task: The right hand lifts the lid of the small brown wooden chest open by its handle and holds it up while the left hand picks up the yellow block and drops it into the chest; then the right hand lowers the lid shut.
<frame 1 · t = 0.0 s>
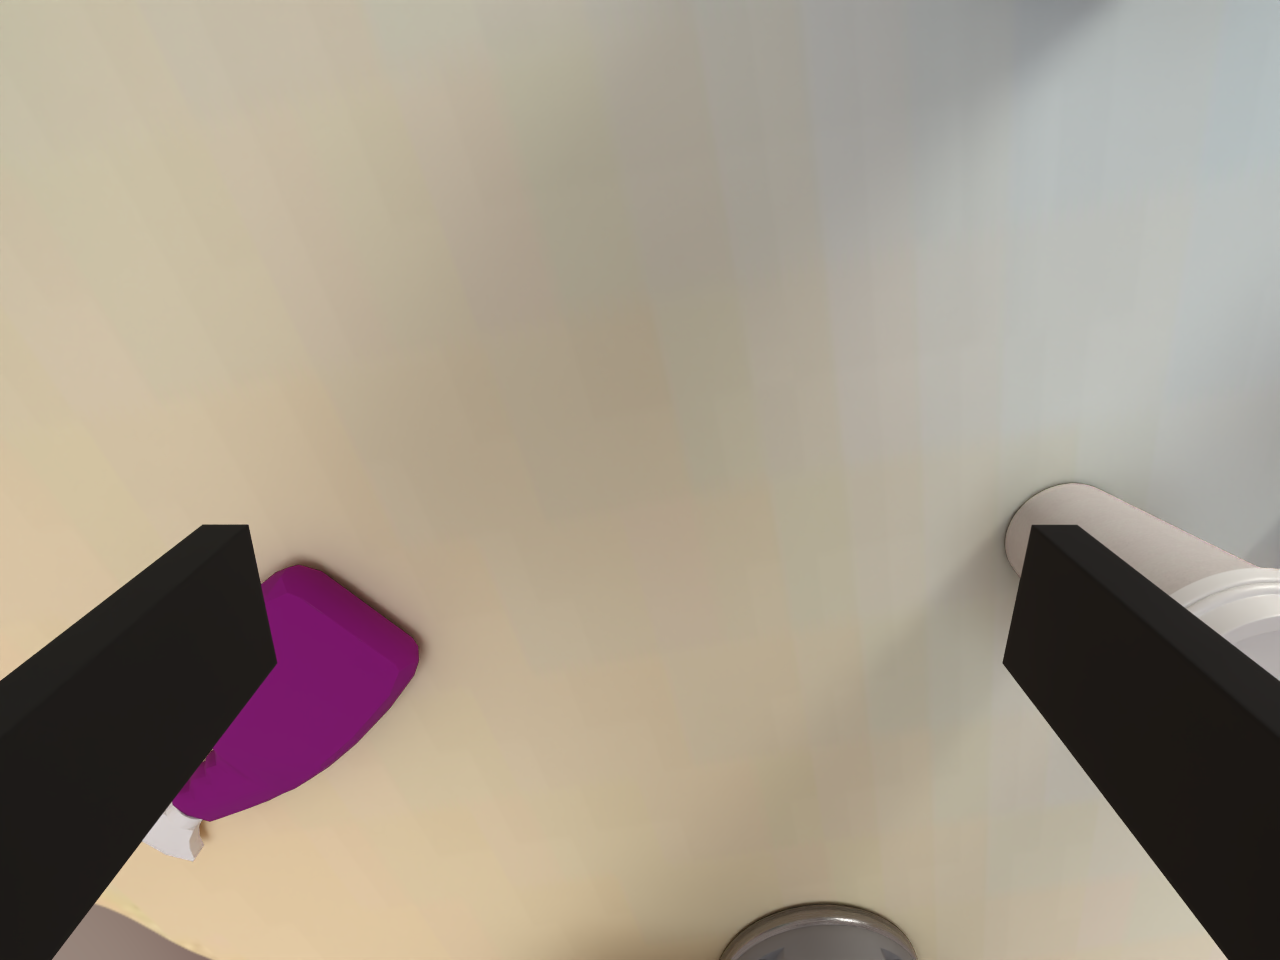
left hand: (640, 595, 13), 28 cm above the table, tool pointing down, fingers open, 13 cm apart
coffee cup: (1059, 533, 43), on the table
spray bottle: (256, 716, 48), on the table
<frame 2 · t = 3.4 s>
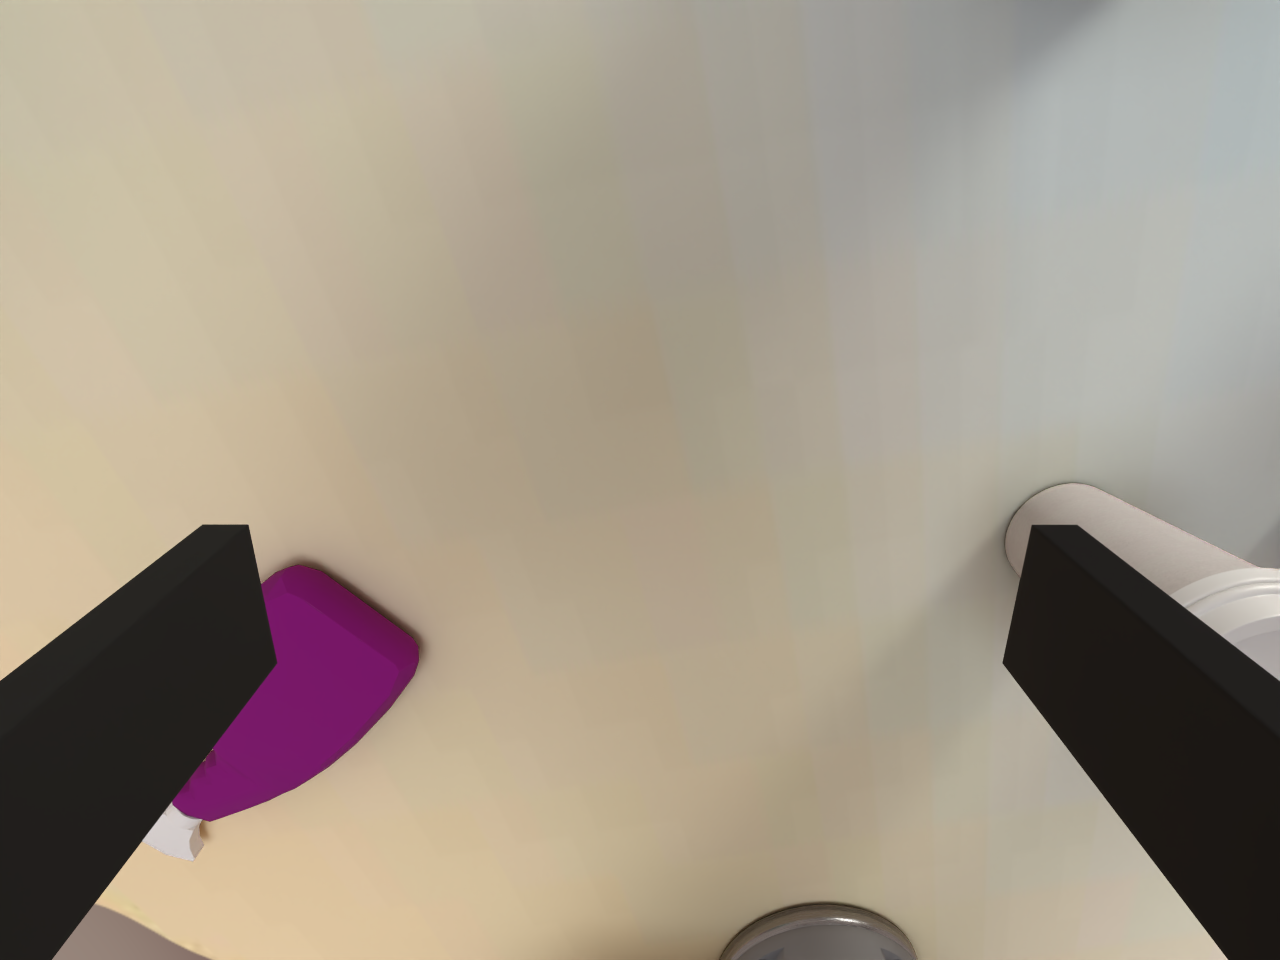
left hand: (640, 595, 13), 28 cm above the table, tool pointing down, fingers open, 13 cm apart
coffee cup: (1059, 533, 43), on the table
spray bottle: (256, 716, 48), on the table
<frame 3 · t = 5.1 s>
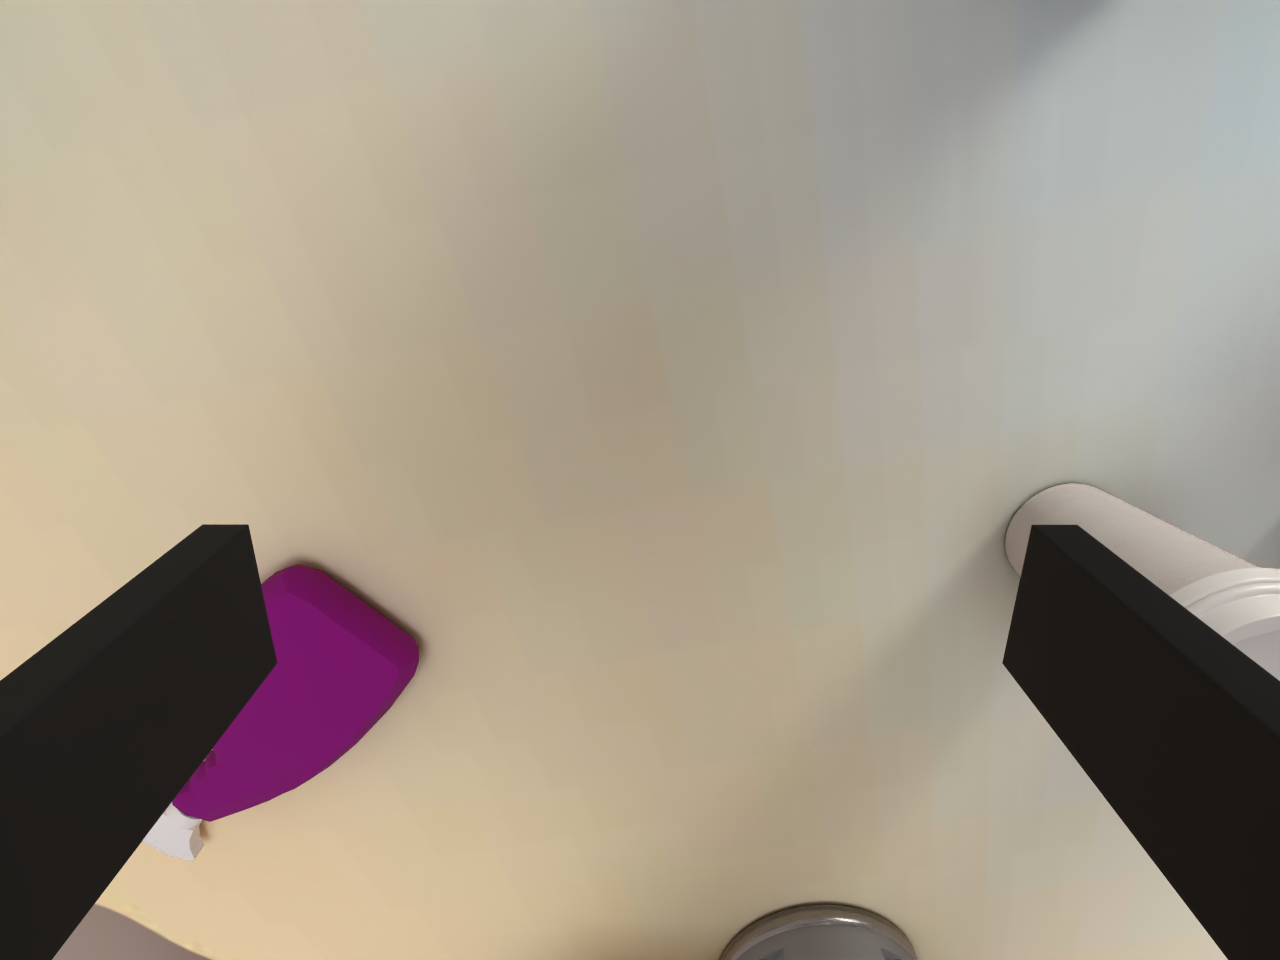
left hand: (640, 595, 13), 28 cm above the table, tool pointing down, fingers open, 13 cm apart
coffee cup: (1059, 533, 43), on the table
spray bottle: (256, 716, 48), on the table
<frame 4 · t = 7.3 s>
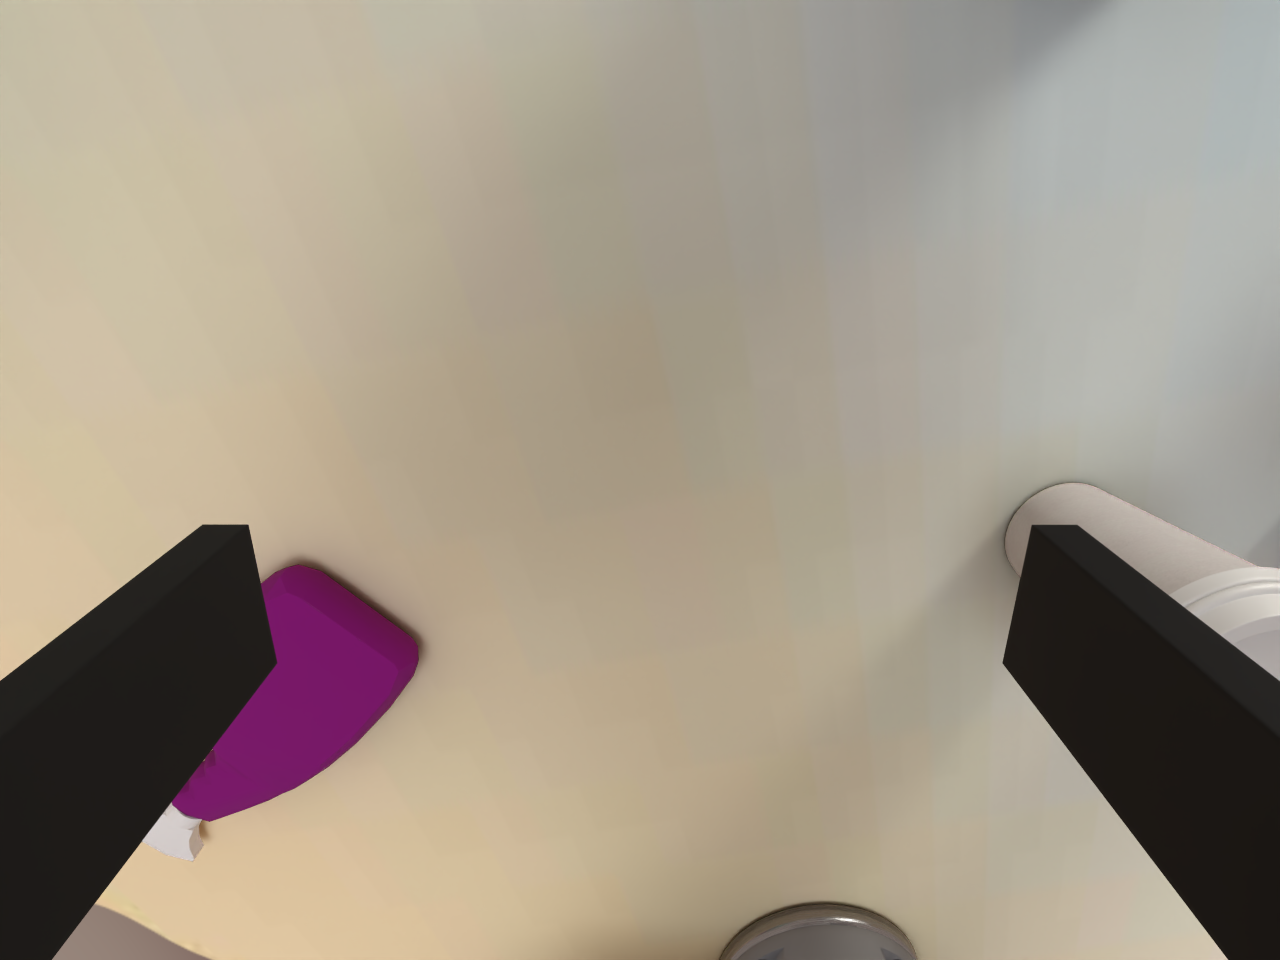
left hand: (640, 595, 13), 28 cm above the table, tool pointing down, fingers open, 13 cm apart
coffee cup: (1059, 533, 43), on the table
spray bottle: (255, 716, 48), on the table
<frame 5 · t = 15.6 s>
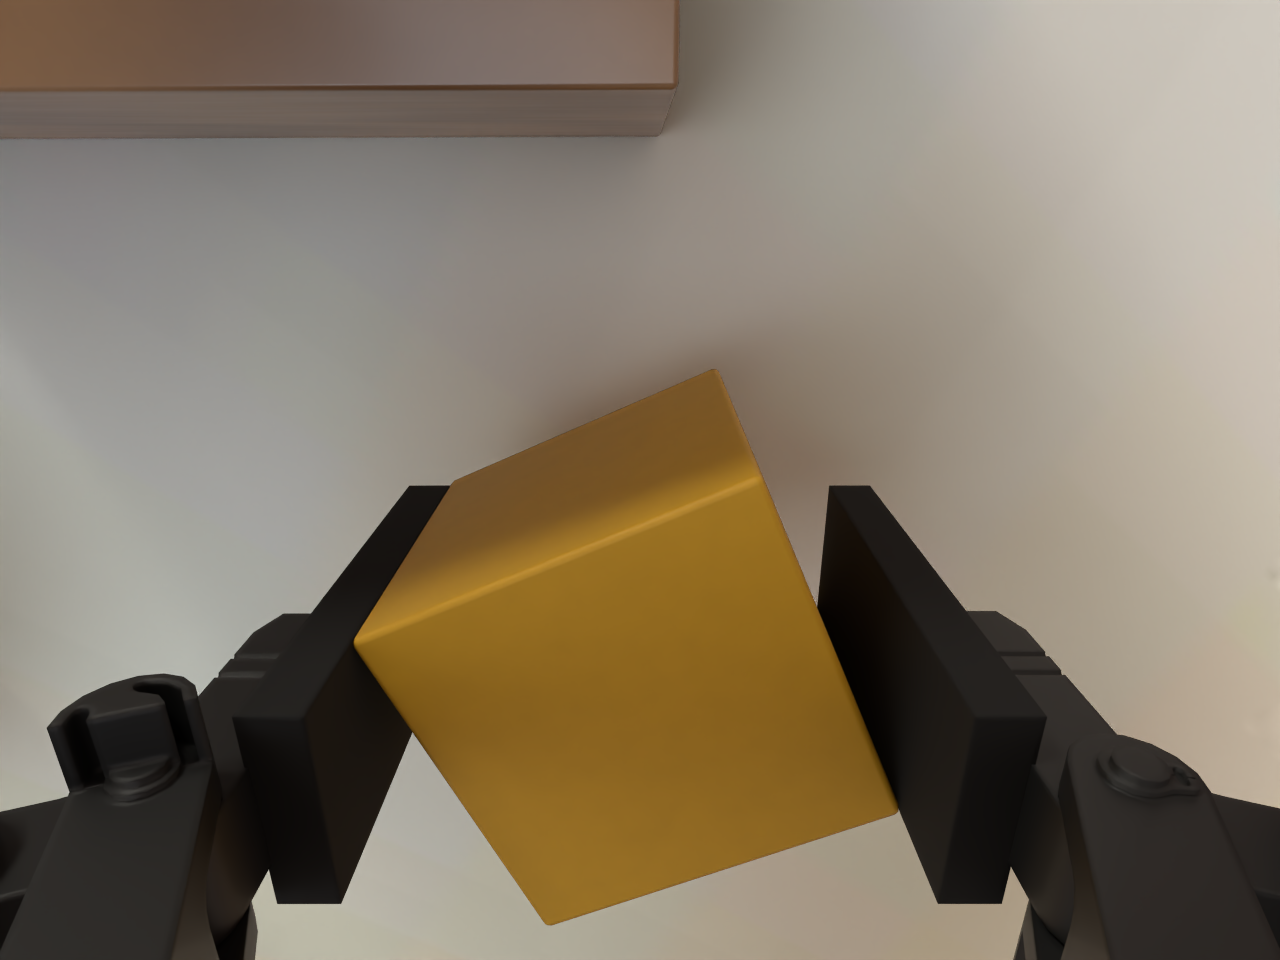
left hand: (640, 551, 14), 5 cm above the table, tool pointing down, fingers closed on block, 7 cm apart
block: (639, 545, 15), point 5 cm above the table, touching left hand
when the left hand's fingers open (19 cm above the table, at t = 18.4 s): block drops 17 cm, point 1 cm above the table.
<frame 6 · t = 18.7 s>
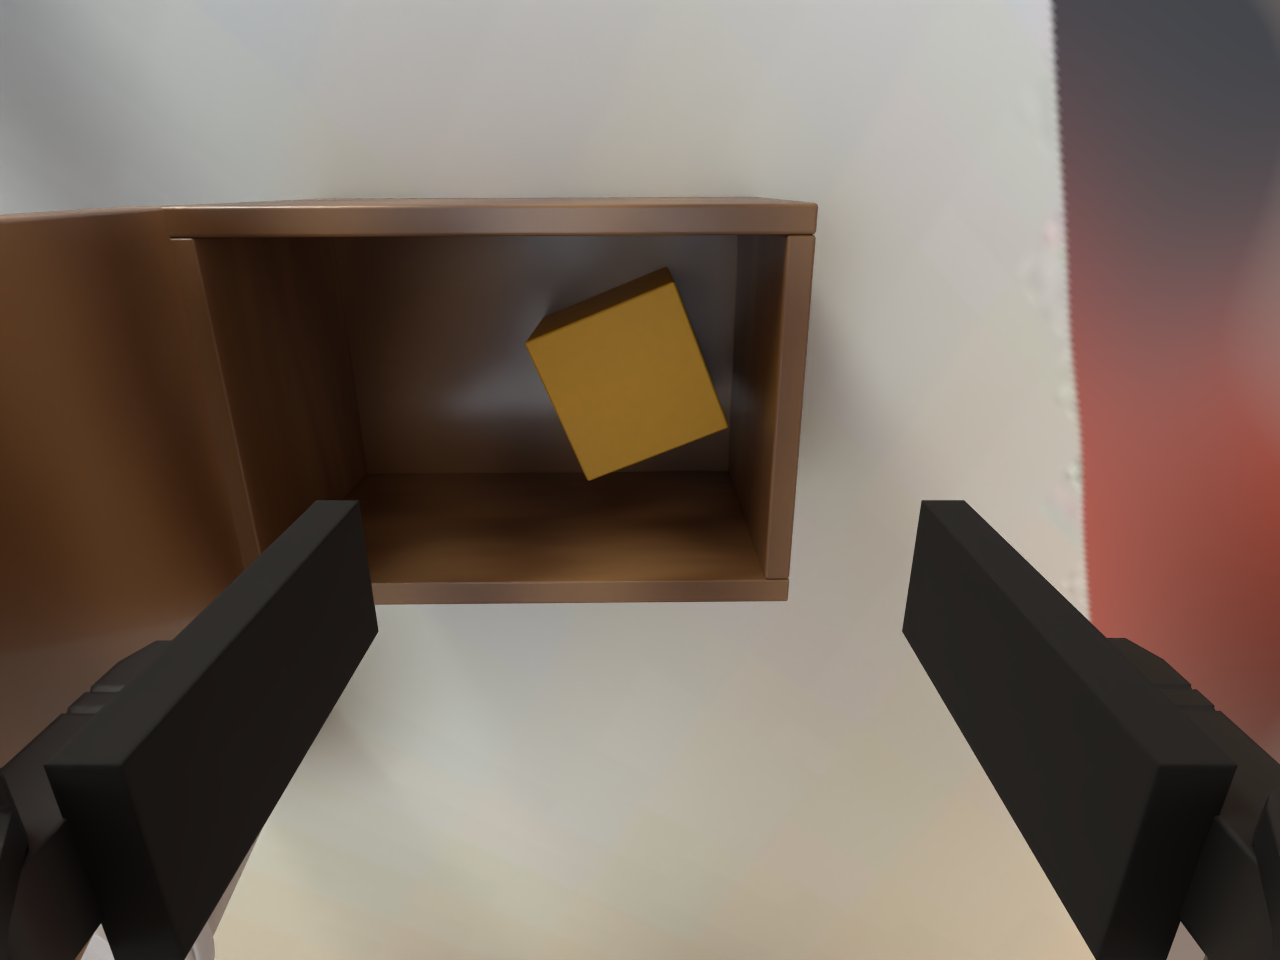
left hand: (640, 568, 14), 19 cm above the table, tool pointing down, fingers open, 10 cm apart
coffee cup: (253, 690, 38), on the table
block: (629, 354, 31), point 1 cm above the table
chest: (544, 350, 31), on the table
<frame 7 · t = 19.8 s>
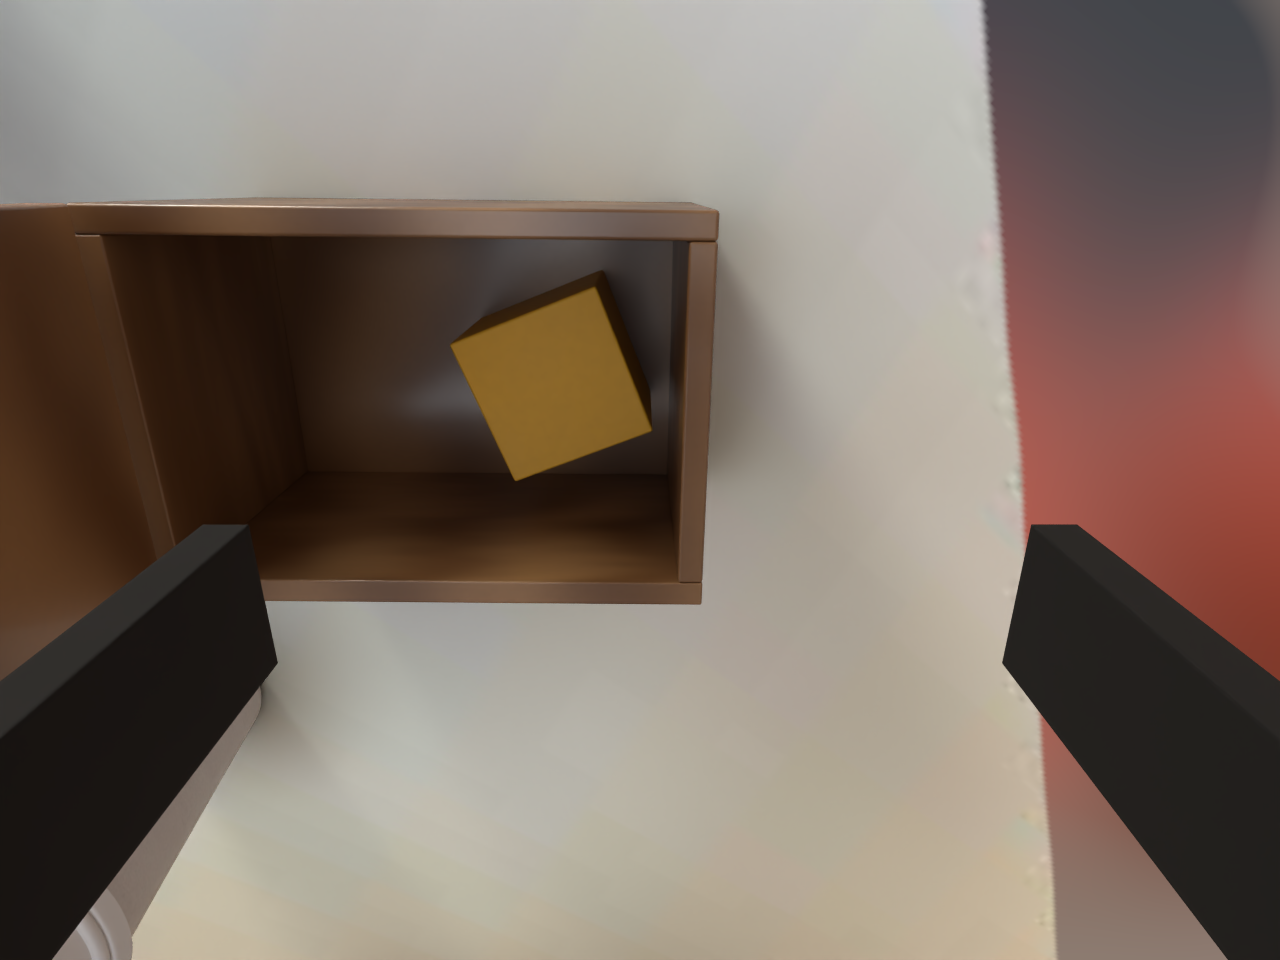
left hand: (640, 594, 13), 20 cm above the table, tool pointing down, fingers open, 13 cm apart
coffee cup: (198, 686, 38), on the table
block: (567, 356, 31), point 1 cm above the table, touching chest
chest: (483, 351, 32), on the table, touching block
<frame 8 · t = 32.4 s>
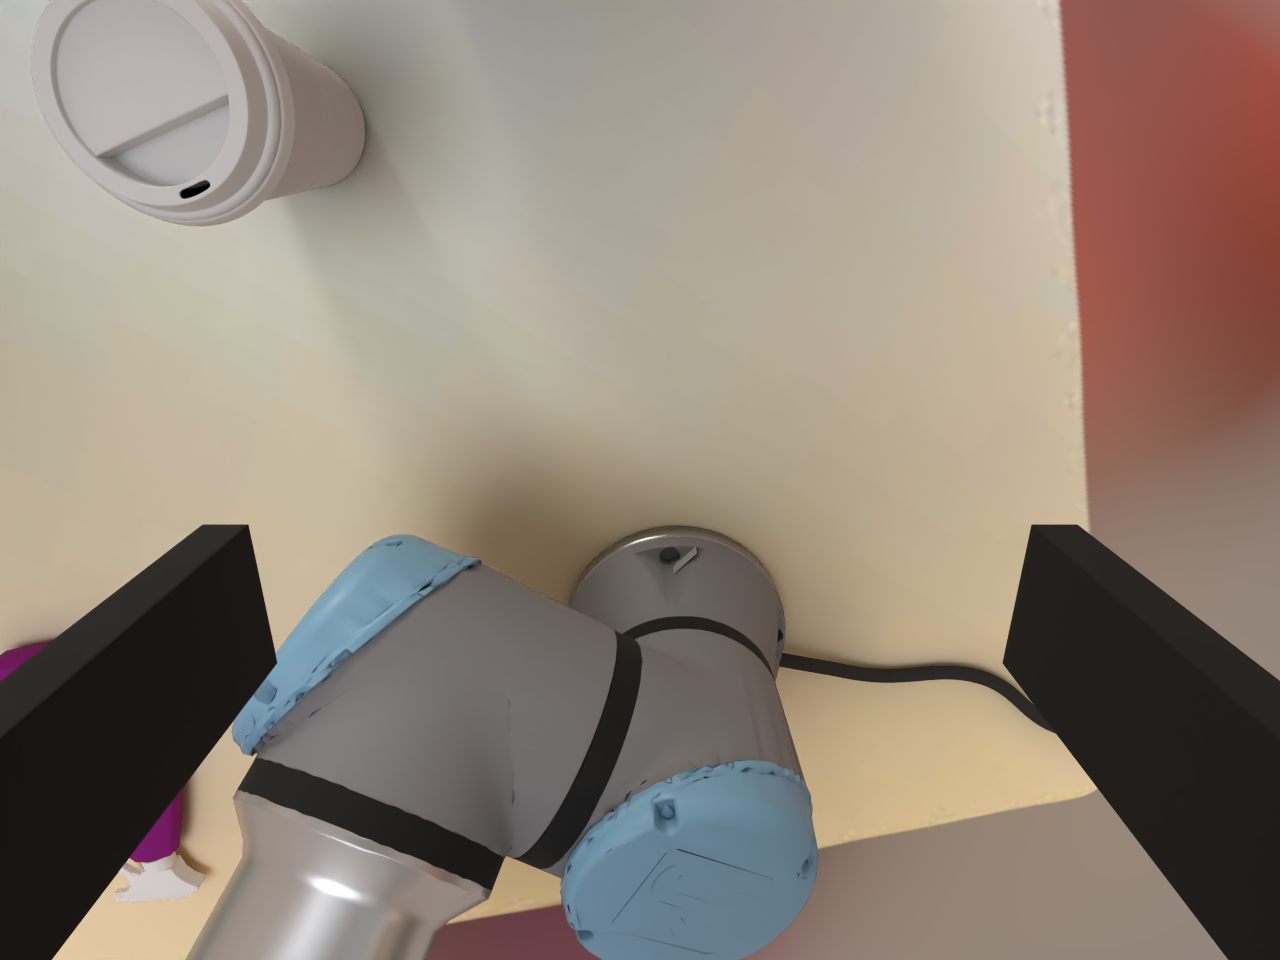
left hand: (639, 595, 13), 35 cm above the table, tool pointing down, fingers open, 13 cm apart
coffee cup: (308, 125, 42), on the table
spray bottle: (125, 768, 59), on the table
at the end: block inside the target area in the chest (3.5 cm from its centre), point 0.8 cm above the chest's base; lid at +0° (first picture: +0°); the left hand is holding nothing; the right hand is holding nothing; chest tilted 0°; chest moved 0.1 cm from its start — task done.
